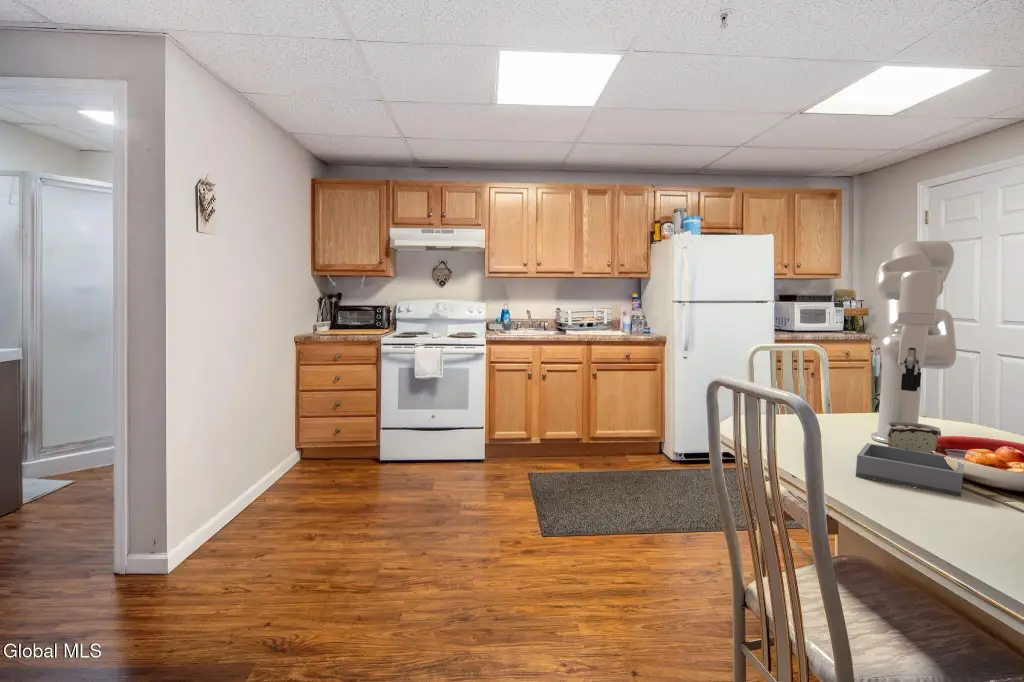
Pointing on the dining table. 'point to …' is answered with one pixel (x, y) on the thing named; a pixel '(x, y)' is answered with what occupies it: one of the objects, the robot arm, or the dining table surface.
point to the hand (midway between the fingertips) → (910, 388)
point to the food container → (912, 436)
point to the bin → (909, 468)
